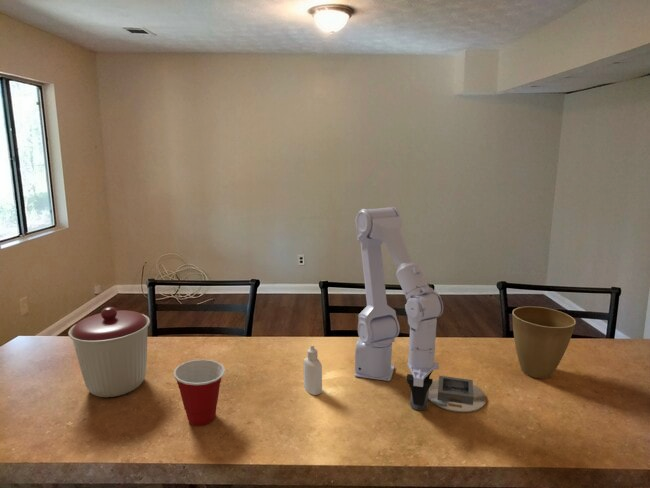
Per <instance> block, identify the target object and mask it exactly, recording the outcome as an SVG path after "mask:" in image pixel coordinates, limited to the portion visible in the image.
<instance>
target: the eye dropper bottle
mask: <svg viewBox="0 0 650 488" xmlns="http://www.w3.org/2000/svg"><path fill="white" fill-rule="evenodd" d="M322 366H323V365H322V363H321V361H320V359H319V358H318V349H317V348H315V345H314V344H311V345H310V347H309V348H308V349H307V357H305V358H304V359H303V388H304V389H305V391H306V392H307V393H309V394H310V395H313V396H318V395H320V394H322V393H323V367H322Z"/></svg>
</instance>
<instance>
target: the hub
mask: <svg viewBox="0 0 650 488" xmlns="http://www.w3.org/2000/svg"><path fill="white" fill-rule="evenodd" d="M473 382H474V380H473V379H467V378H461V377H460V378H459V377H455V376H454V377H453V376H452V377H451V376H445V375H439V376H438V379H435V380H433V381H432V385H431V386H430V387H429V395H428V401H429V402H431V404H433V405H435V406H436V407H438V408H441V409H443V410H446V411H448V412H449V411H450V412H454V413H471V412H472V413H473V412H476V411H478V410H481V409H483V407H484V406H485V404H486V401H487V398H486V394H485V392H484V391H483V390H482V389H481V388H480V387H478V386H477V385H475V384H474V383H473Z"/></svg>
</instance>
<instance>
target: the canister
mask: <svg viewBox="0 0 650 488" xmlns="http://www.w3.org/2000/svg"><path fill="white" fill-rule="evenodd" d="M100 311H101V312H100V313H99V312H98V313H96V314H93V315H90V316H88V317H85V318H83V319H82V320H80V321H78V322H77V323H76V324H74V325H72V326H71V327H70V328H69V330H68V332H67V333H68V334H67V335H68V337H69V338H70V339H71V340H72V343H73V346H74V351H75V353H76V357H77V360H78V364H79V367H80V371H81V375H82V378H83V381H84V385H85V387H86V389H87V390H88V392H89V393H90V394H92V395H94V396H96V397H100V398H101V397H102V398H109V397H110V398H114V397H120V396H122V395H125V394H128V393H130V392H132V391H135V390H136V389H137V388H138V387H140V386H141V384H142V383H143V382H144V380H145V377H146V373H147V362H148V361H147V360H148V357H147V356H148V327H149V326H150V324H151V320H150V318H149V316H147V315H146V314H144V313H140V312H137V311H134V310H124V309H122V310H117V308H115V307H114V306H105V307H104V308H103V309H102V310H100Z"/></svg>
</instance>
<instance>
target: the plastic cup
mask: <svg viewBox="0 0 650 488" xmlns="http://www.w3.org/2000/svg"><path fill="white" fill-rule="evenodd" d="M225 372H226V369H225V366H224V365H223V364H222V363H220V362H218V361H216V360H212V359H192V360H189V361H185V362H183V363H180V364H179V365H178V366H176V367H175V369H174V370H173V377H174V379H175V381H177V382H176V383H177V385H178V389H179V391H180V396H181V400H182V404H183V408H184V410H185V414H186V417H187V421H188V423H189V424H190V425H192V426H198V427H200V426H201V427H202V426H205V425H206V426H207V425H208V424H210V423H212V422H213V421H214V420H215V417H216V415H217V405H218V402H219V394H220V386H221V383H222V379H223V377H224V374H225Z"/></svg>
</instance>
